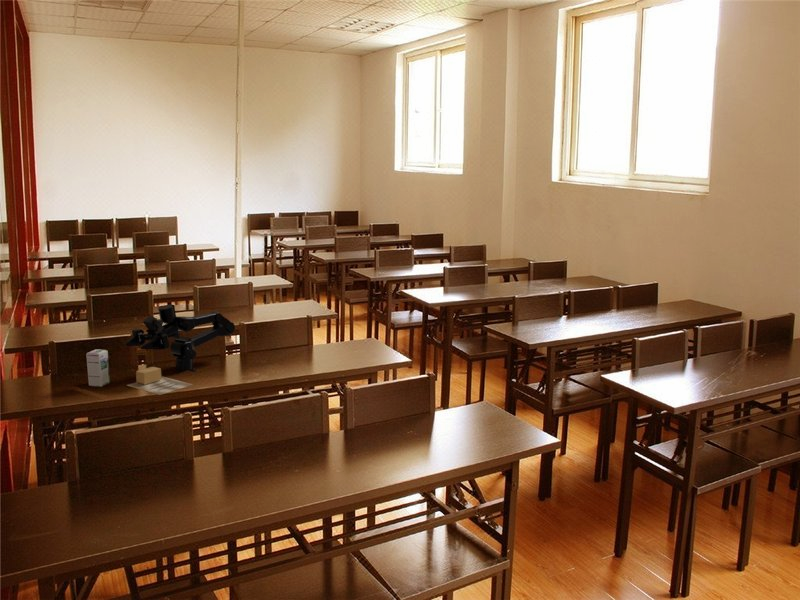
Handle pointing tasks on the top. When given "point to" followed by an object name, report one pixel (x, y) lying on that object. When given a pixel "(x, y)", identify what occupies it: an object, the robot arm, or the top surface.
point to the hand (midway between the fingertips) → (133, 346)
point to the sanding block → (148, 375)
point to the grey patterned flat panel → (161, 386)
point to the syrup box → (98, 367)
